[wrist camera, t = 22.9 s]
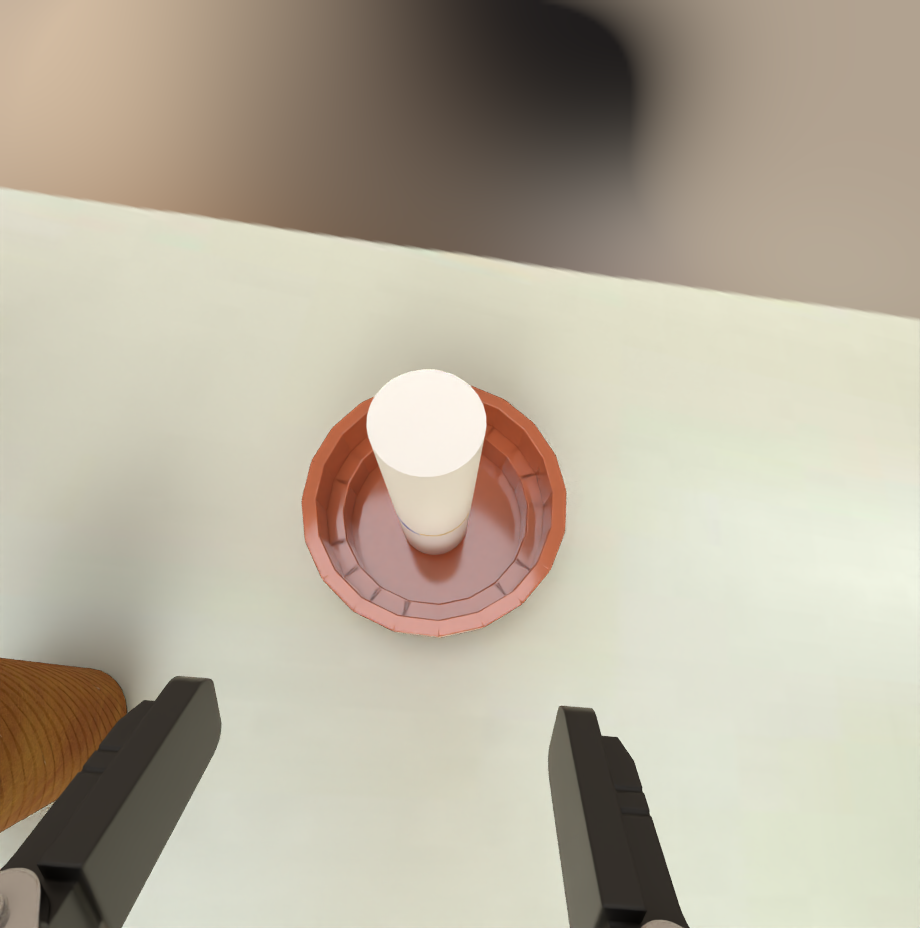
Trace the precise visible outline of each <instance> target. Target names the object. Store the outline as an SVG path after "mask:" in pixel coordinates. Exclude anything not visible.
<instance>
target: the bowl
mask: <svg viewBox="0 0 920 928" xmlns="http://www.w3.org/2000/svg"><path fill="white" fill-rule="evenodd" d="M471 387H472V388H473V389H474V391H475V392H476V393H477V394H478V396H479V398H480V400H481V402H482V403H483V406H484V410H485V413H486V432H485V437H484V442H483V448H482V453H481V458H480V463H479V468H478V473H477V479H476V484H475V489H474V494H473V499H472V504H471V510H470V515H469V520H468V525H467V530H466V533H465V536H464V538H463V539H462V541H461V542H460V543H459V545H458V546H457V547H455V548H454V549H453V550H451V551H449V552H447V553H444V554H439V555H430V554H425V553H422V552H420V551H418V550H417V549H415V548H414V547H413V546H412V545H411V544H410V543H409V542H408V540H407V539H406V537H405V534H404V532H403V529H402V527H401V524H400V521H399V519H398V516H397V513H396V511H395V508H394V505H393V503H392V500H391V497H390V495H389V492H388V489H387V486H386V484H385V481H384V478H383V476H382V473H381V470H380V468H379V465H378V462H377V459H376V457H375V454H374V451H373V449H372V446H371V443H370V441H369V438H368V433H367V427H366V424H367V414H368V410H369V407H370V404H371V402H372V400H373V398H374V397H375V396H374V397H372V398H370V399H368V400H366V401H364V402H362V403H360V404H359V405H358V406H357V407H355V408H354V409H353V410H352V411H351V412H350V413H349V414H347V415H346V416H345V417H344V418H343V419H342V420H341V421H339V422H338V423H337V424H336V425H335V426H334V427H333V429H331V430H330V432H329V433H328V435H327V437H326V438H325V440H324V441H323V443H322V445H321V446H320V448H319V450H318V451H317V453H316V454H315V456H314V458H313V459H312V462H311V464H310V468H309V472H308V476H307V480H306V484H305V488H304V492H303V496H302V513H303V525H304V537H305V542H306V545H307V547H308V549H309V551H310V554H311V556H312V558H313V560H314V562H315V565H316V567H317V569H318V571H319V574H320V576H321V578H322V579H323V581H324V582H325V583H326V584H327V585H328V586H329V587H330V588H331V589H332V590H333V591H334V592H335V593H336V594H337V595H338V596H339V598H340V599H341V600H342V601H343V602H344V603H345V604H346V605H347V606H348V607H349V608H350V609H351V610H353V611H354V612H355V613H357V614H359V615H361V616H363V617H365V618H367V619H369V620H371V621H373V622H375V623H377V624H379V625H381V626H383V627H385V628H387V629H389V630H391V631H394V632H399V633H404V634H412V635H420V636H428V637H436V638H440V637H441V638H442V637H447V636H452V635H456V634H461V633H466V632H470V631H475V630H478V629H481V628H483V627H485V626H487V625H489V624H490V623H492V622H494V621H495V620H497V619H499V618H500V617H502V616H504V615H505V614H507V613H509V612H510V611H512V610H514V609H515V608H517V607H519V606H520V605H522V603H524V602H525V600H526V599H527V598H528V597H529V596H530V594H531V593H532V592H533V591H534V590H535V588H536V587H537V586H538V585H539V584H540V582H541V581H542V580H543V579H544V578H545V576H546V575H547V574H548V573H549V571H550V570H551V568H552V565H553V562H554V560H555V557H556V554H557V552H558V549H559V547H560V544H561V541H562V539H563V536H564V533H565V520H566V488H565V485H564V482H563V478H562V475H561V471H560V468H559V465H558V461H557V458H556V455H555V453H554V452H553V451H552V449H551V448H550V446H549V445H548V443H547V442H546V440H545V439H544V437H543V436H542V434H541V433H540V431H539V430H538V428H537V427H536V426H535V424H533V422H532V421H531V420H529V419H528V418H527V417H526V416H524V415H523V414H522V413H521V412H519V411H518V410H517V409H516V408H514V407H513V406H512V405H511V404H509V403H508V402H507V401H506V400H504V399H502V398H500V397H497V396H495V395H492V394H490V393H488V392H485V391H483V390H480V389H478V388H476V387H473V386H471Z"/></svg>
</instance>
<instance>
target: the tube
mask: <svg viewBox="0 0 920 928" xmlns="http://www.w3.org/2000/svg"><path fill="white" fill-rule="evenodd" d="M366 427H367V433H368V438H369V441H370V443H371V446H372V449H373V451H374V454H375V457H376V459H377V462H378V465H379V468H380V470H381V473H382V476H383V478H384V481H385V484H386V486H387V489H388V492H389V495H390V497H391V500H392V503H393V505H394V508H395V511H396V513H397V516H398V519H399V521H400V524H401V527H402V529H403V532H404V534H405V537H406V539H407V540H408V542H409V543H410V544H411V545H412V546H413V547H414V548H415V549H417V550H418V551H420V552H422V553H425V554H430V555H439V554H444V553H447V552H449V551H451V550H453V549H454V548H455V547H457V546H458V545H459V543H460V542H461V541H462V539H463V538H464V536H465V533H466V530H467V525H468V520H469V515H470V510H471V504H472V499H473V494H474V489H475V484H476V479H477V473H478V468H479V463H480V458H481V453H482V448H483V442H484V437H485V432H486V413H485V410H484V406H483V403H482V402H481V400H480V398H479V396H478V394H477V393H476V392H475V391H474V389H473V388H472V387H471V386H470V385H469V384H467V383H466V382H465V381H464V380H462V379H461V378H459V377H457V376H455V375H453V374H450V373H447V372H444V371H440V370H433V369H421V370H415V371H410V372H407V373H404V374H401V375H399V376H397V377H395V378H394V379H392V380H390V381H389V382H388V383H386V384H385V385H384V386H383V387H382V388H381V389H380V390H379V391H378V393H377V394H376V395H375V397H374V398H373V400H372V402H371V404H370V407H369V410H368V414H367V424H366Z"/></svg>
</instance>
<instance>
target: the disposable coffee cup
mask: <svg viewBox="0 0 920 928" xmlns="http://www.w3.org/2000/svg"><path fill="white" fill-rule="evenodd" d="M126 714H127V708H126V701H125V697H124V695H123V692H122V689H121V688H120V686H119V685H118V683H117V682H116V681H115V680H114V679H113V678H112V677H111V676H110V675H108V674H106V673H104V672H102V671H100V670H95V669H91V668H81V667H72V666H65V665H57V664H48V663H40V662H31V661H23V660H14V659H5V658H0V833H1V832H2V831H4V830H5V829H7V828H8V827H11V826H13V825H14V824H16V823H17V822H19V821H20V820H23V819H25V818H26V817H28V816H29V815H31V814H33V813H35V812H36V811H38V810H39V809H41V808H43V807H45V806H47V805H48V804H50V803H52V802H54V801H55V800H57V799H58V798H59V796H60V795H61V794H62V792H63V791H64V790H65V789H66V787H67V786H68V785H69V783H70V782H71V781H72V780H73V778H74V777H75V776H76V774H77V773H78V772H81V771H82V769H83V765H84V764H85V763H86V762H87V760H88V759H89V758H90V756H91V755H92V754H93V753H94V751H97V750H98V748H99V745H100V744H101V742H102V741H103V740H104V738H105V737H106V736H107V735H108V733H109V732H110V731H111V729H112V728H113V727H114V725H115V724H116V723H117V722H118V720H120V719H121V718H122V717H123V716H125V715H126Z"/></svg>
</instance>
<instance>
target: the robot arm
mask: <svg viewBox="0 0 920 928" xmlns="http://www.w3.org/2000/svg"><path fill="white" fill-rule="evenodd" d="M220 734H221V718H220V713H219V708H218V703H217V698H216V693H215V687H214V683H213V681H212V680H211V679H208V678H196V677H184V676H176V677H174V678H173V679H171V680H170V681H169V683H168V684H167V685H166V686H165V688H164V689H163V691H162V692H161V693H160V695H159V696H158V697H157V699H156V700H155V701H148V700H144V701H142V702H141V703H140V704H139V705H137V706H136V707H135V708H134V709H132V710H131V711H130V712H129V713H127V714H126V715H125V716H123V717H122V718H121V719H120V720H118V722H117V723H116V724H115V725H114V727H113V728H112V729H111V731H110V732H109V733H108V735H107V736H106V737H105V738H104V740H103V741H102V742H101V744H100V745H99V748H98V750H97V751H94V753H93V754H92V755H91V756H90V758H89V759H88V760H87V762H86V763H85V764H84V765H83V769H82V771H81V772H78V773H77V774H76V776H75V777H74V778H73V780H72V781H71V782H70V783H69V785H68V786H67V787H66V789H65V790H64V791H63V792H62V794H61V795H60V796H59V798H58V799H57V800H56V802H55V803H54V804H53V805H52V807H51V808H50V809H49V811H48V812H47V813H46V814H45V816H44V817H43V818H42V820H41V821H40V822H39V823H38V825H37V826H36V827H35V829H34V830H33V831H32V832H31V834H30V835H29V836H28V838H27V839H26V840H25V841H24V843H23V844H22V845H21V847H20V848H19V849H18V850H17V852H16V853H15V854H14V855H13V857H12V858H11V859H10V860H9V861H8V863H7V864H6V865H5V866H4V867H3V868H2V869H1V870H0V928H122V926H123V924H124V922H125V920H126V918H127V916H128V914H129V913H130V911H131V909H132V907H133V905H134V903H135V901H136V899H137V897H138V896H139V894H140V892H141V890H142V888H143V886H144V884H145V882H146V881H147V879H148V877H149V875H150V873H151V871H152V869H153V867H154V865H155V864H156V862H157V860H158V858H159V856H160V854H161V852H162V850H163V849H164V847H165V845H166V843H167V841H168V839H169V837H170V835H171V833H172V832H173V830H174V828H175V826H176V824H177V822H178V820H179V818H180V816H181V815H182V813H183V811H184V809H185V807H186V805H187V803H188V801H189V800H190V798H191V796H192V794H193V792H194V790H195V788H196V786H197V784H198V783H199V781H200V779H201V777H202V775H203V773H204V771H205V769H206V768H207V766H208V764H209V762H210V760H211V758H212V756H213V754H214V752H215V750H216V748H217V745H218V742H219V738H220ZM548 771H549V781H550V789H551V796H552V803H553V810H554V817H555V824H556V831H557V839H558V846H559V853H560V860H561V867H562V874H563V882H564V889H565V896H566V903H567V910H568V917H569V924H570V928H689V926H688V924H687V922H686V920H685V918H684V916H683V914H682V911H681V909H680V906H679V903H678V900H677V897H676V893H675V890H674V887H673V884H672V881H671V878H670V874H669V871H668V868H667V865H666V862H665V858H664V855H663V852H662V849H661V846H660V843H659V839H658V836H657V833H656V830H655V827H654V823H653V820H652V817H651V816H650V814H649V807H648V804H647V801H646V798H645V795H644V793H643V792H642V785H641V782H640V779H639V776H638V772H637V769H636V766H635V763H634V760H633V759H632V757H631V756H630V755H629V753H628V752H627V750H626V749H625V747H624V746H623V744H622V743H621V742H620V740H619V739H618V737H609V736H601V732H600V729H599V725H598V721H597V717H596V714H595V712H594V710H593V709H592V708H582V707H569V706H560V707H559V708H558V712H557V716H556V721H555V725H554V729H553V734H552V738H551V742H550V747H549V755H548Z"/></svg>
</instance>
